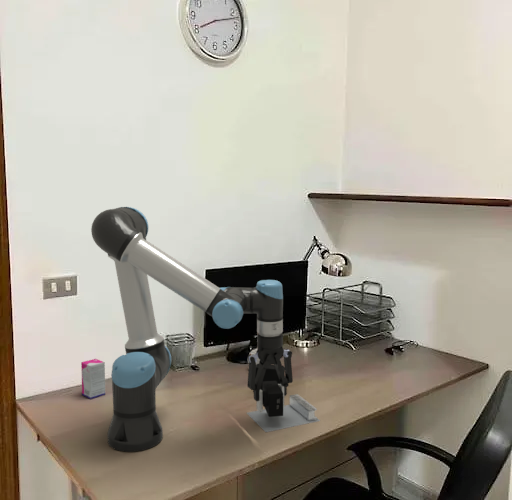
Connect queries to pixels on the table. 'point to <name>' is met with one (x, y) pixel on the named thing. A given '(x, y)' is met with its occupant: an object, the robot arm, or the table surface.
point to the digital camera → (272, 398)
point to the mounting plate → (279, 419)
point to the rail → (303, 407)
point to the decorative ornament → (253, 354)
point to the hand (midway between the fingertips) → (270, 408)
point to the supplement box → (93, 378)
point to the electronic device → (270, 374)
